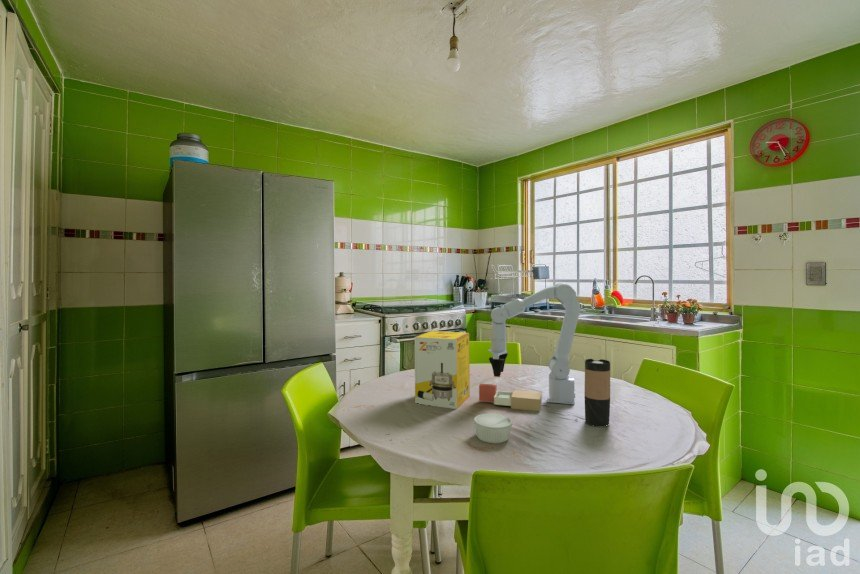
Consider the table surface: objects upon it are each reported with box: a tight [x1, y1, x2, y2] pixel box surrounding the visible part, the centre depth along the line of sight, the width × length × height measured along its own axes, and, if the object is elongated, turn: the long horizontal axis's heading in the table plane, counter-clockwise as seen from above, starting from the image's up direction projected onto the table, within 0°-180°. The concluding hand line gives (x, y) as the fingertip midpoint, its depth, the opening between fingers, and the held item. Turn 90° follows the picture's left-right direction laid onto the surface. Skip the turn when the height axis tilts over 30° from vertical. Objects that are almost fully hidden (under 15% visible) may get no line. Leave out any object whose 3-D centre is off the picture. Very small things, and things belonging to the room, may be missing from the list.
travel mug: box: [584, 358, 611, 427], centre depth 129 cm, size 8×8×20 cm
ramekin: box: [473, 412, 513, 444], centre depth 119 cm, size 11×11×5 cm
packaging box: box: [414, 330, 471, 410], centre depth 154 cm, size 16×16×25 cm
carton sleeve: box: [510, 389, 543, 412], centre depth 146 cm, size 10×9×4 cm
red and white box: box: [478, 383, 513, 407], centre depth 149 cm, size 15×8×6 cm, turn 72°
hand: (498, 374), depth 155 cm, fingers open, 7 cm apart
